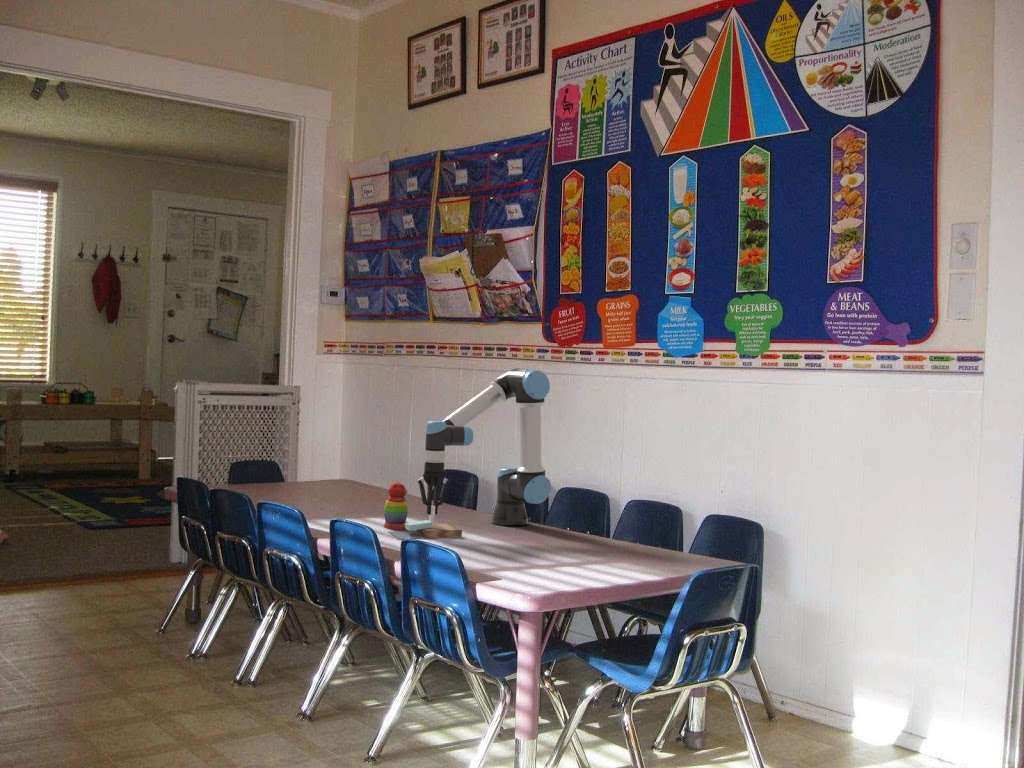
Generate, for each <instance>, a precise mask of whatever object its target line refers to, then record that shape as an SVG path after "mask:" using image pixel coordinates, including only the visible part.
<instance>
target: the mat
mask: <svg viewBox="0 0 1024 768" xmlns="http://www.w3.org/2000/svg"><path fill="white" fill-rule="evenodd" d="M387 533H388V534H390V535H391V536H392V537H394V538H396V539H397V540H405V539H404V538H410V539H409V540H422V539H421V538H424V539H423V540H427V539H428V538H426V537H424V536H423V535H421V534H420V533H418V532H416V530H410V531H409V530H394V531H390V530H389V531H387ZM401 538H402V539H401Z"/></svg>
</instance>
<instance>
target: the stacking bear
mask: <svg viewBox="0 0 1024 768" xmlns="http://www.w3.org/2000/svg"><path fill="white" fill-rule="evenodd" d="M407 494H408V489H407V488H406V487H405V486H404V484H403V483H402V482H399V481H397V482H393V483H391V484H390V485H389V487H388V495H389V497H387V499H386V500H385V503H384V508H383V516H384V520H385V521H384V524H383V528H384V529H388V528H389V530H395V531H406V530H407V529H406V528H405V523H408V522H409V521H407V517H408V511H409V509H408V503H407V499H406V497H405V496H407Z"/></svg>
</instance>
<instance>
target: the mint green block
mask: <svg viewBox="0 0 1024 768" xmlns="http://www.w3.org/2000/svg"><path fill="white" fill-rule="evenodd" d="M407 522H408V523H405V528H406V529H405V530H406V531H416V530H418V529H425V528H432V522H430V521H429V519H424V520H417V521H410V522H409V521H407Z"/></svg>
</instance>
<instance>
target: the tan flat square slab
mask: <svg viewBox="0 0 1024 768" xmlns="http://www.w3.org/2000/svg"><path fill="white" fill-rule="evenodd" d="M415 531H416V532H418V533H420V534H421V535H423V536H424V537H426V538H427V539H458V538H457V537H462V538H463V529H461V528H459V527H458V526H456V525H454V524H453V523H452V524H451V523H435V524H432V528H425V529H418V530H415ZM455 537H456V538H455Z"/></svg>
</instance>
